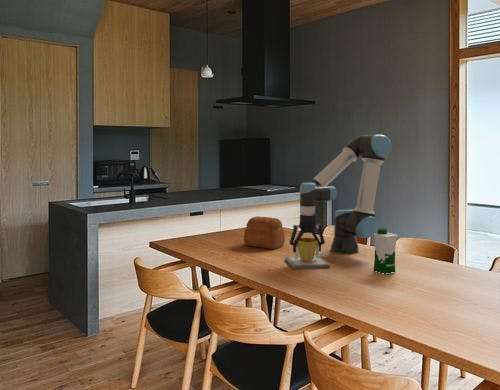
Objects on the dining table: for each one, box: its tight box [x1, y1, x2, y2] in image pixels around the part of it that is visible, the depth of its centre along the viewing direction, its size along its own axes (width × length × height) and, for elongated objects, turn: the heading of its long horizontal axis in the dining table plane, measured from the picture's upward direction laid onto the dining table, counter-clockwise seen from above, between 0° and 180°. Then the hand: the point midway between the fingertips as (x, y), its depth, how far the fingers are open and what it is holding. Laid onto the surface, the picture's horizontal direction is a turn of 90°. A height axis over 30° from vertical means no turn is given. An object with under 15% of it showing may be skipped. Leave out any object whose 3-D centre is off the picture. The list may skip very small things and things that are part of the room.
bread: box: [243, 216, 286, 250], centre depth 261 cm, size 18×21×17 cm
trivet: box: [284, 255, 331, 270], centre depth 223 cm, size 18×18×2 cm
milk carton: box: [373, 227, 398, 274], centre depth 207 cm, size 9×9×20 cm
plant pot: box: [297, 237, 318, 260], centre depth 222 cm, size 10×10×10 cm
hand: (306, 258), depth 223 cm, fingers closed on plant pot, 10 cm apart
